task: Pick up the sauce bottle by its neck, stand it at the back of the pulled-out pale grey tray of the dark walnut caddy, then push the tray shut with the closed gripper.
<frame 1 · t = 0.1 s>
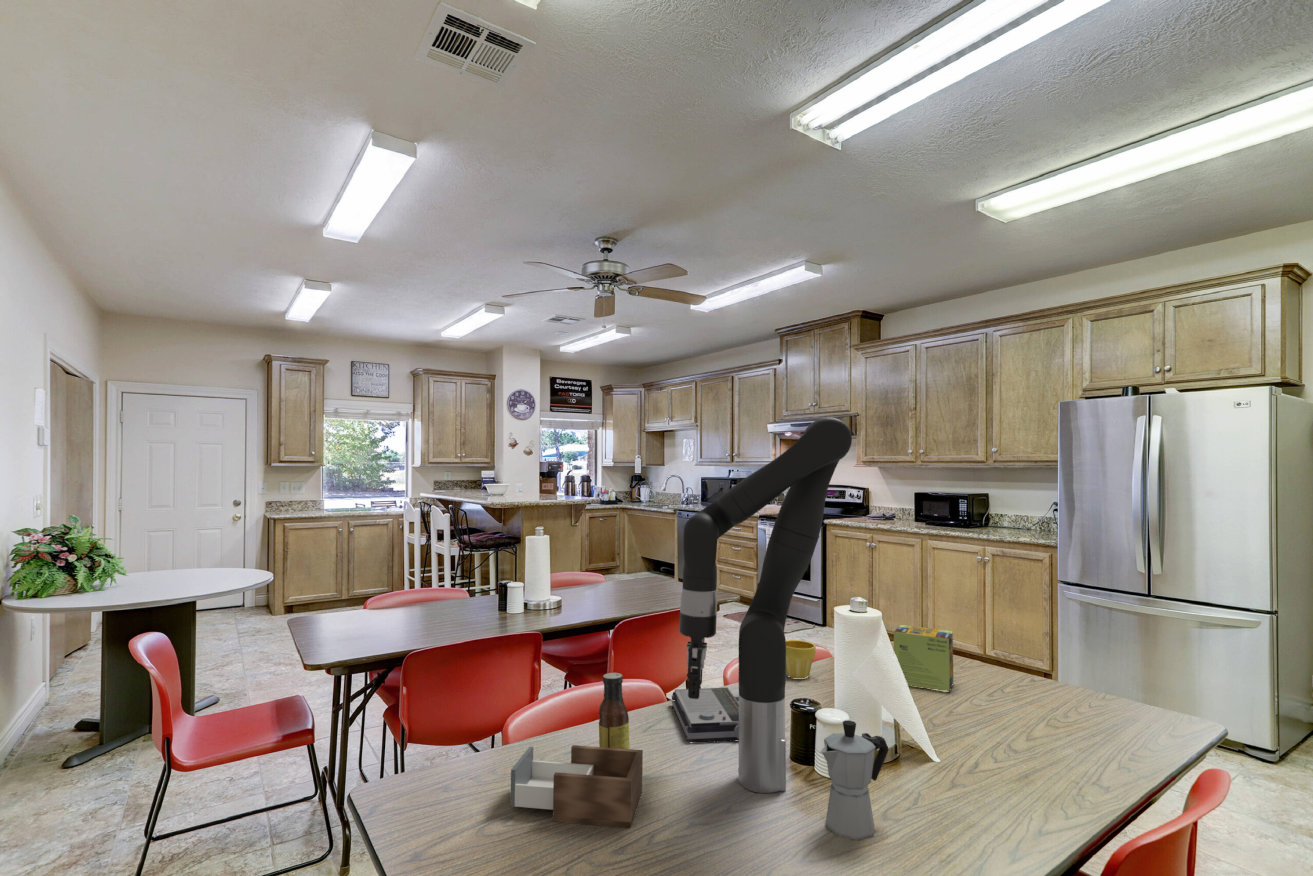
hand: (695, 690, 131), 17 cm above the table, tool pointing down, fingers open, 8 cm apart
tray: (553, 777, 120), point 4 cm above the table, slide at 8.0 cm
coffee maker: (854, 826, 114), on the table
protein box: (923, 684, 190), on the table
radio: (718, 724, 160), on the table
caddy: (599, 806, 119), on the table
plant pot: (798, 677, 196), on the table
sauce bottle: (613, 774, 132), on the table
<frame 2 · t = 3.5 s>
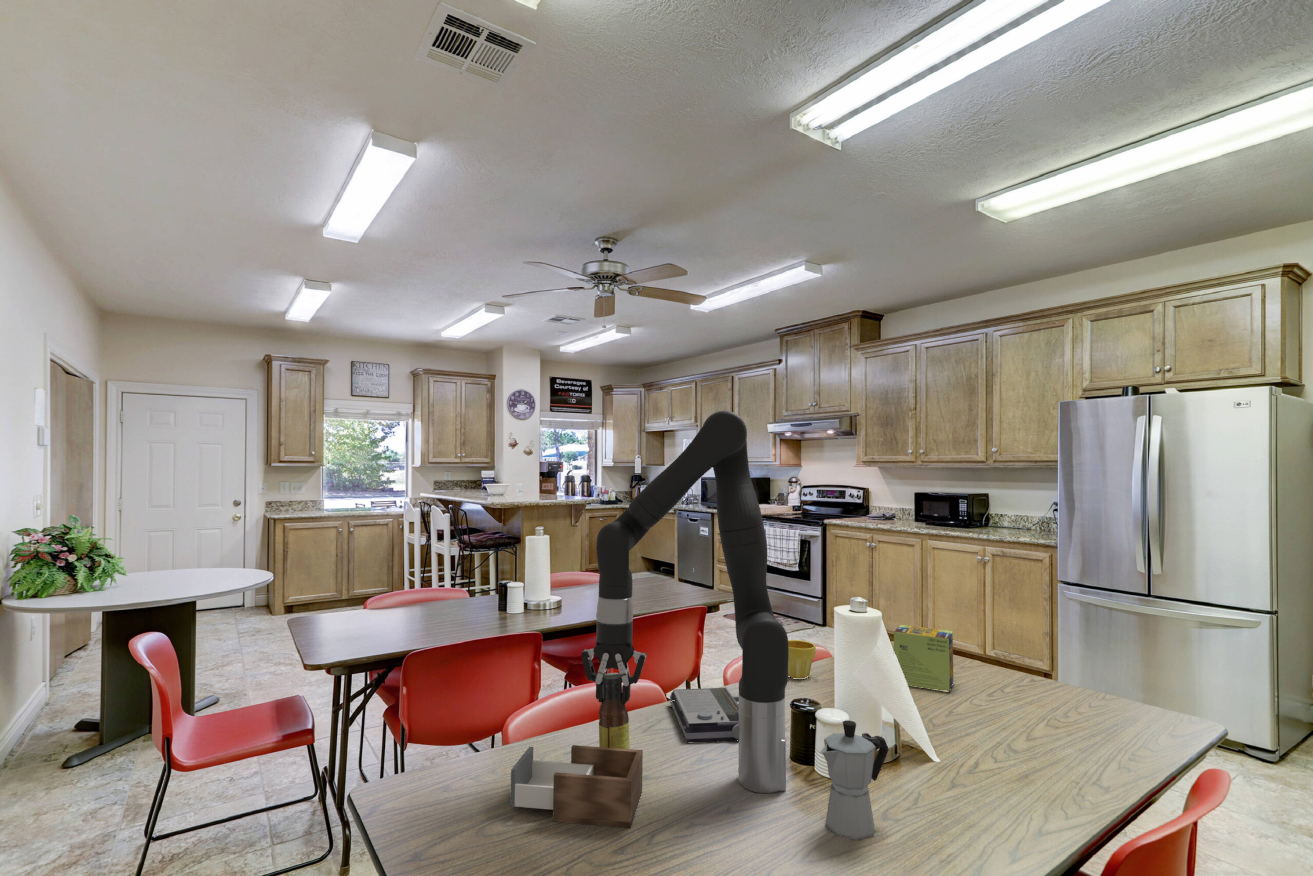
hand: (612, 701, 133), 14 cm above the table, tool pointing down, fingers closed on sauce bottle, 4 cm apart
sauce bottle: (613, 774, 132), on the table, touching gripper
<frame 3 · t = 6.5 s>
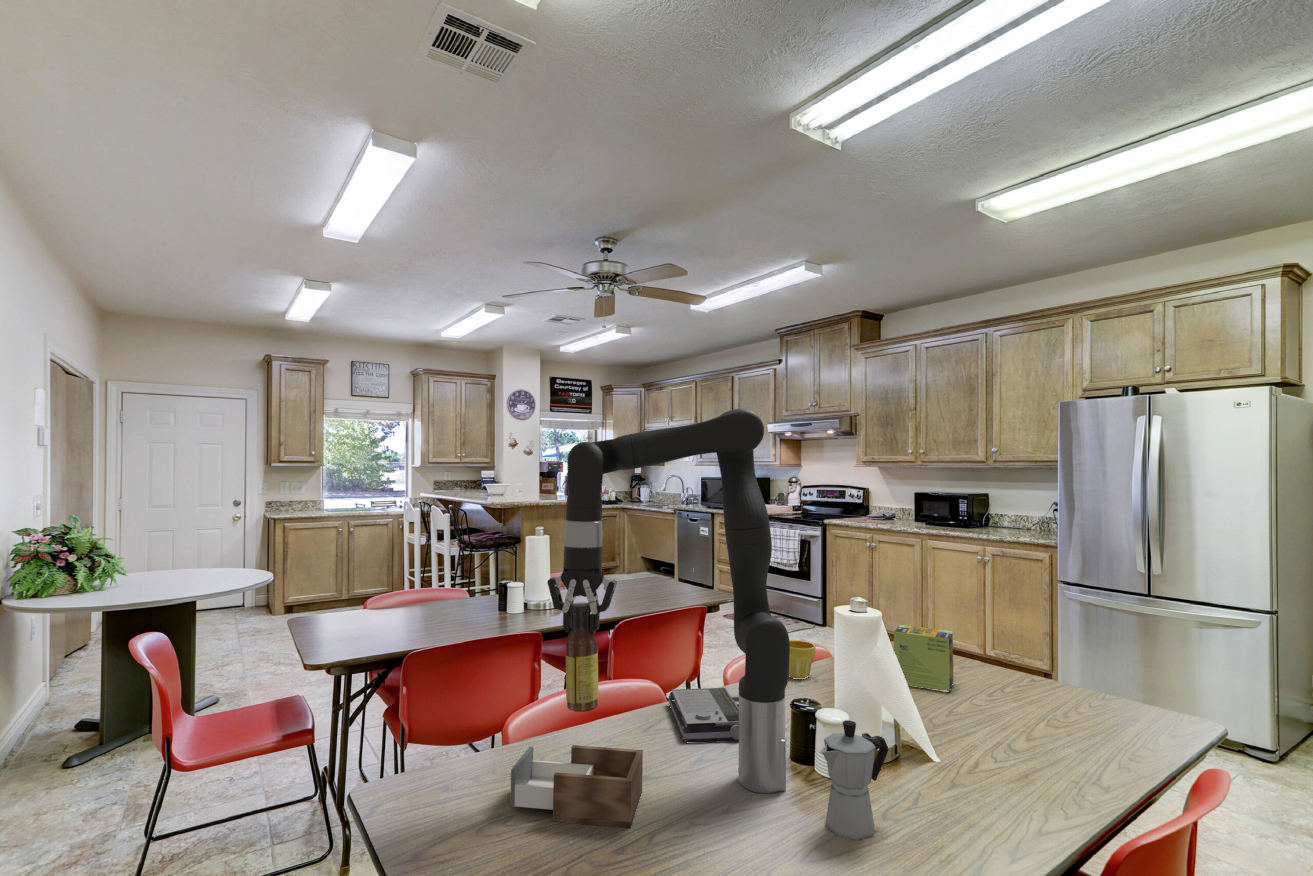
hand: (580, 631, 125), 31 cm above the table, tool pointing down, fingers closed on sauce bottle, 4 cm apart
sauce bottle: (581, 708, 124), point 16 cm above the table, touching gripper
when the fingers open (18 cm above the table, at t = 9.7 s): sauce bottle drops 1 cm, resting on tray.
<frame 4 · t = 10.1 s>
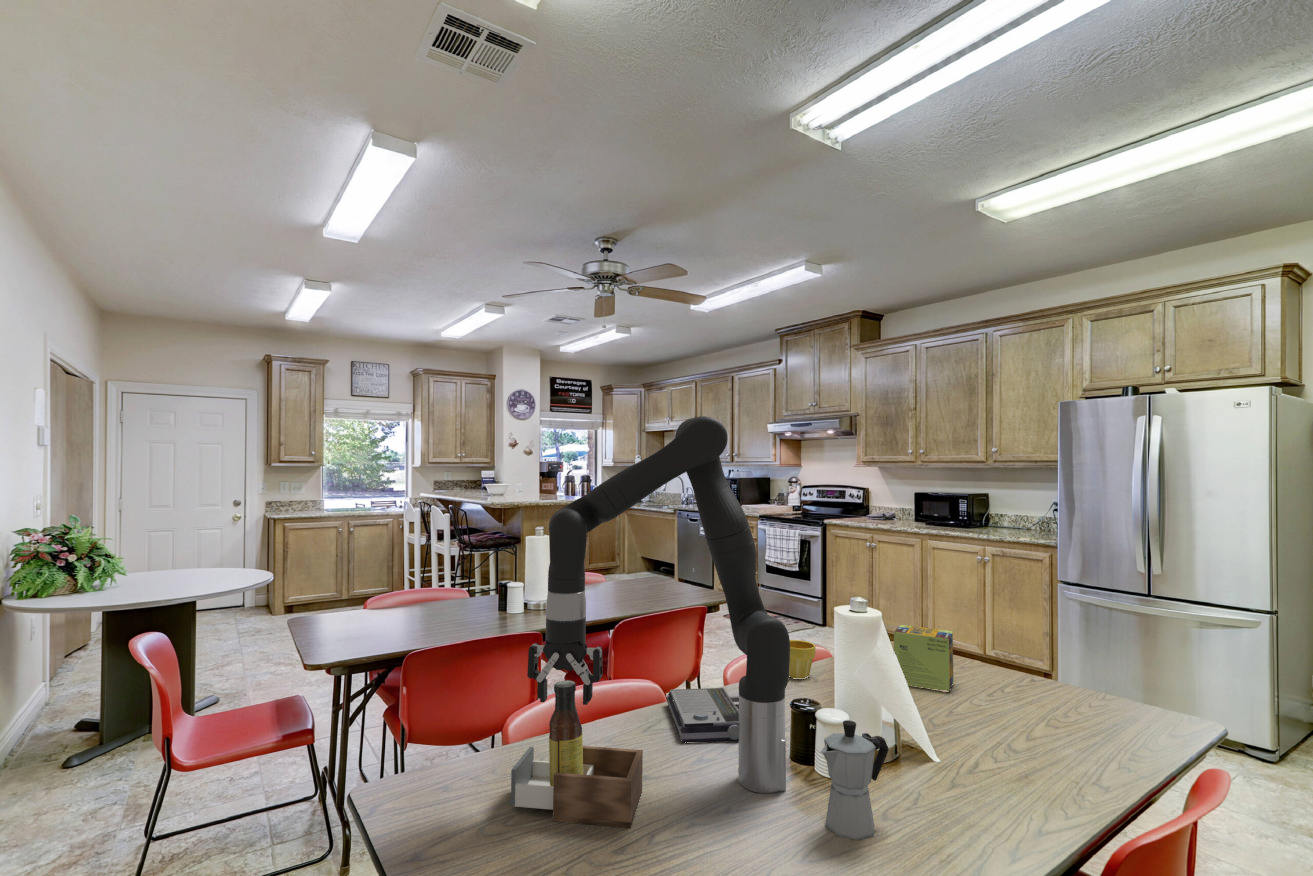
hand: (564, 702, 121), 19 cm above the table, tool pointing down, fingers open, 8 cm apart
tray: (553, 777, 120), point 4 cm above the table, slide at 7.9 cm, touching sauce bottle
sauce bottle: (565, 792, 120), point 2 cm above the table, touching tray
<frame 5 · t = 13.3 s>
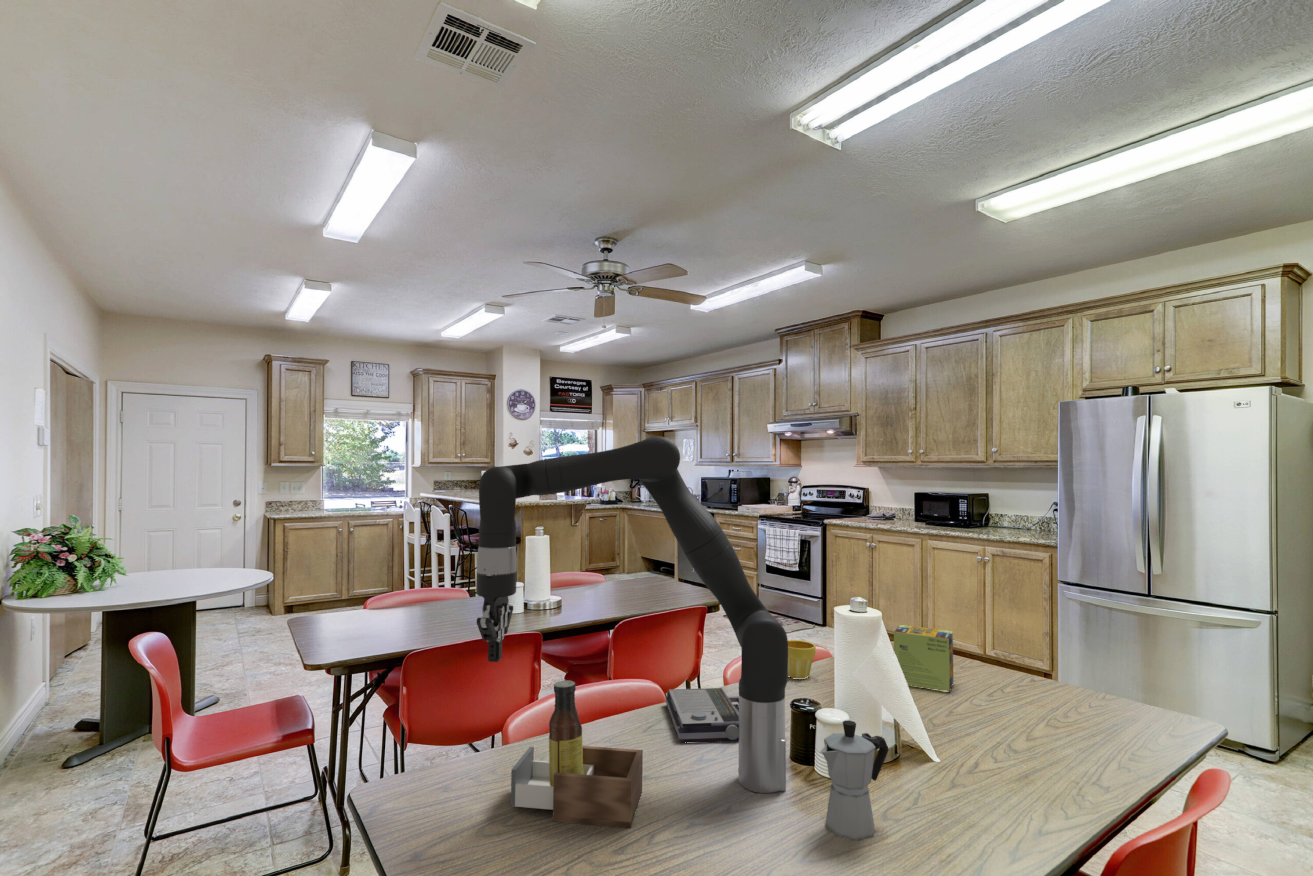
hand: (494, 660, 123), 26 cm above the table, tool pointing down, fingers closed
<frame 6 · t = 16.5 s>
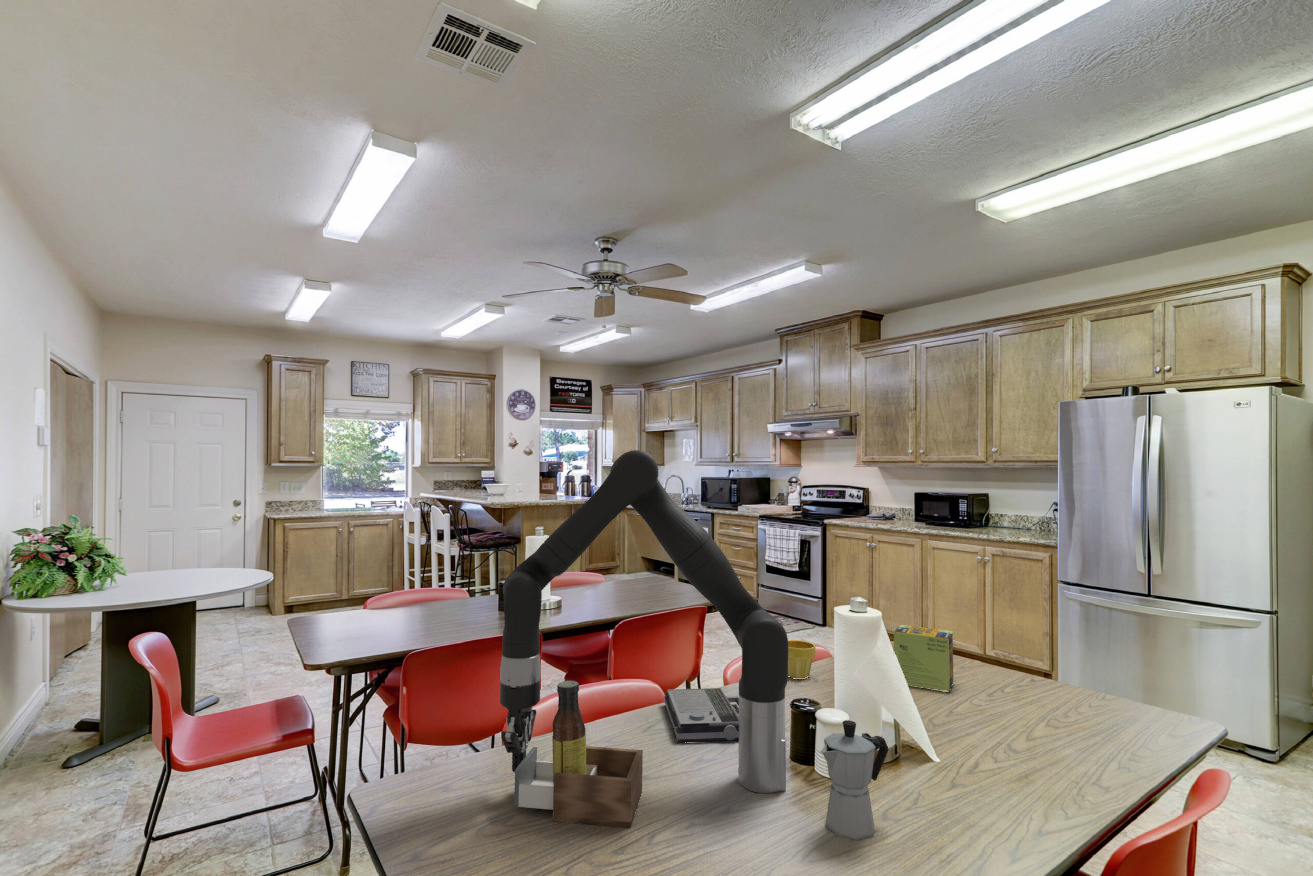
hand: (518, 770, 122), 5 cm above the table, tool pointing down, fingers closed
tray: (557, 778, 120), point 4 cm above the table, slide at 7.2 cm, touching gripper, sauce bottle
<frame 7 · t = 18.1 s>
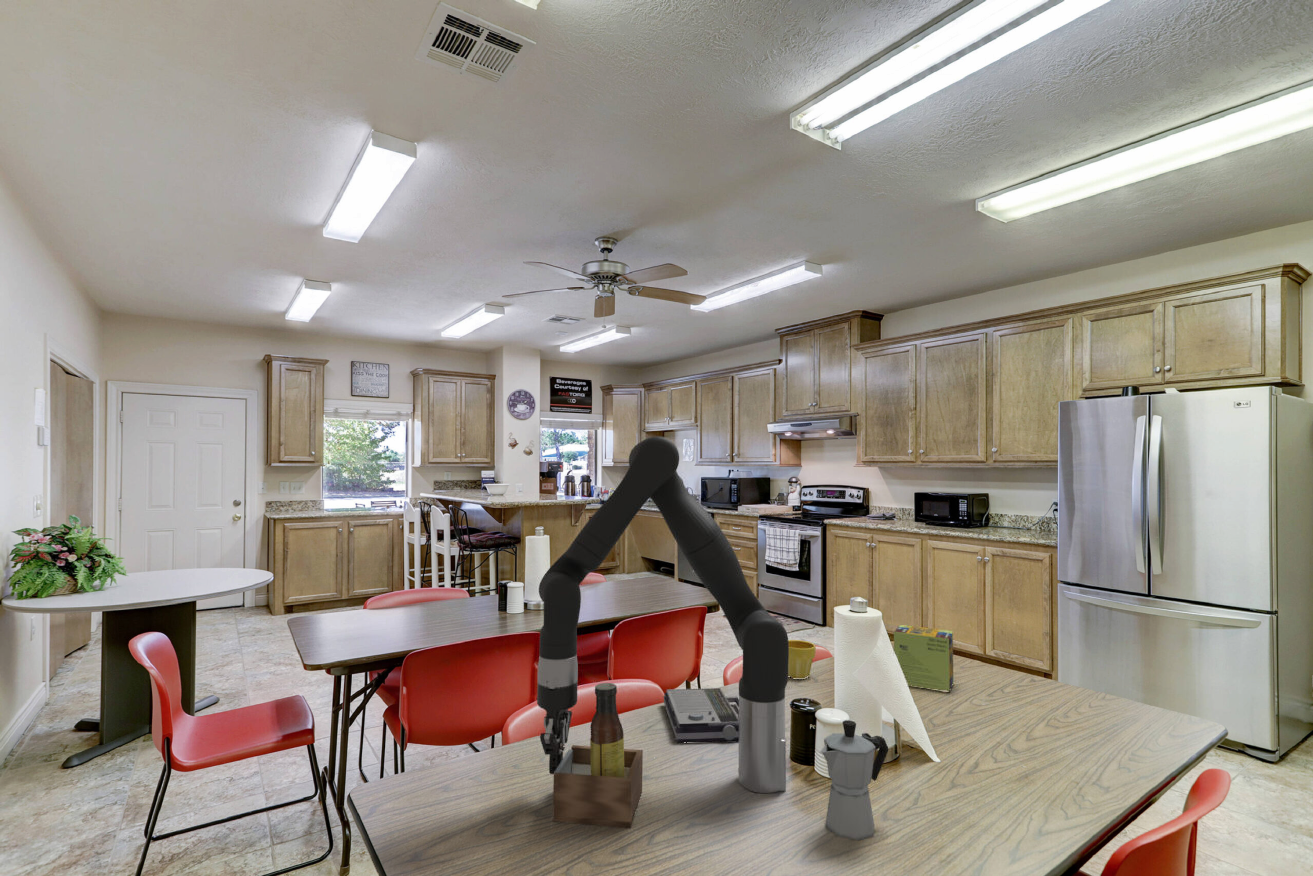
hand: (555, 772, 121), 5 cm above the table, tool pointing down, fingers closed
tray: (595, 781, 119), point 5 cm above the table, slide at 0.0 cm, touching gripper, sauce bottle
sauce bottle: (606, 796, 119), point 2 cm above the table, touching tray
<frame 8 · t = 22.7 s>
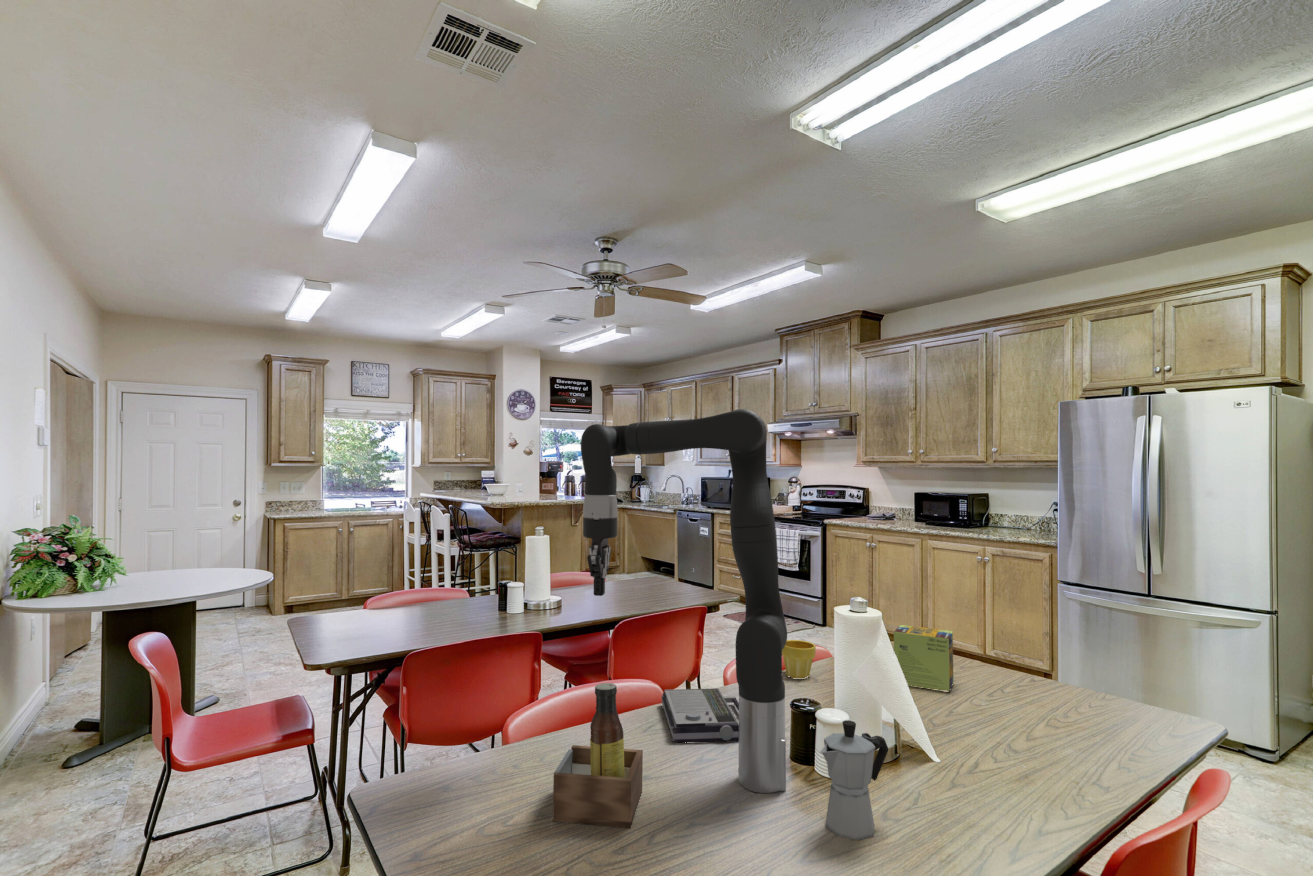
hand: (599, 595, 140), 35 cm above the table, tool pointing down, fingers closed
tray: (595, 781, 119), point 5 cm above the table, slide at 0.0 cm, touching sauce bottle
at the end: tray slide at 0.0 cm; sauce bottle inside the target area (1.7 cm from its centre), point 1.9 cm above the table; sauce bottle tilted 0° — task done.
